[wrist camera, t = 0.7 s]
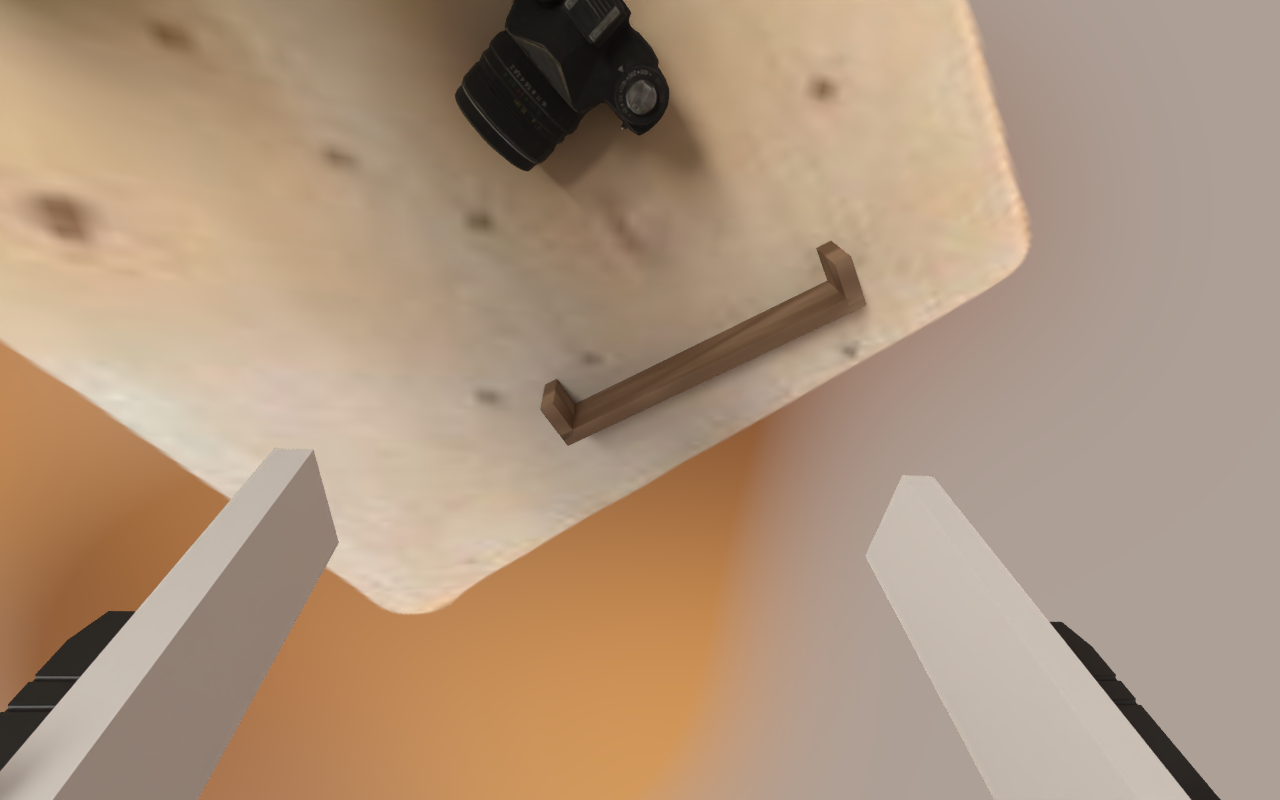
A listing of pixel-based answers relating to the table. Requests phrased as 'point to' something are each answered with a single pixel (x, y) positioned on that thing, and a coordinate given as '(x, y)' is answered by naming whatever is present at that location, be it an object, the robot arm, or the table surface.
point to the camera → (560, 77)
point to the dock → (711, 353)
